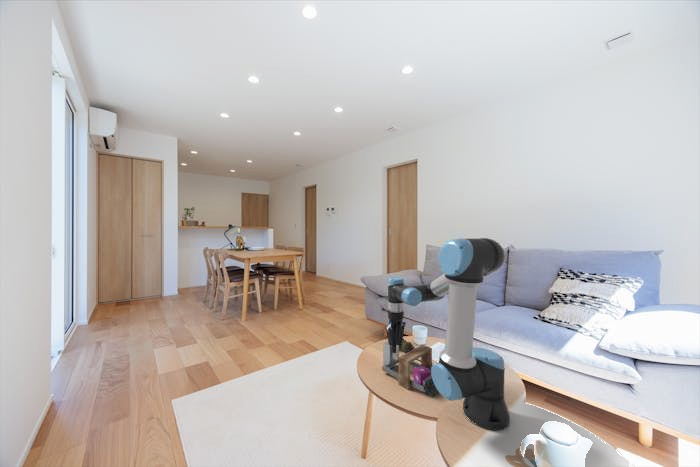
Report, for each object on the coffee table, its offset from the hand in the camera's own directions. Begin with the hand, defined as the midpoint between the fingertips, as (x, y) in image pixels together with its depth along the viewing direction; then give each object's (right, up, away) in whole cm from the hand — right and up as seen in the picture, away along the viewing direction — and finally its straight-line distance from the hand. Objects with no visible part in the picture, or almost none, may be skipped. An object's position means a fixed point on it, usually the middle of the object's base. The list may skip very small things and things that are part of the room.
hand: (395, 358), depth 130 cm
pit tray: (+14, -5, -16) cm, 22 cm away
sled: (+5, -5, -5) cm, 9 cm away
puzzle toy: (+10, -6, -11) cm, 16 cm away
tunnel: (+8, -5, -9) cm, 13 cm away
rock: (+7, -5, +23) cm, 24 cm away
